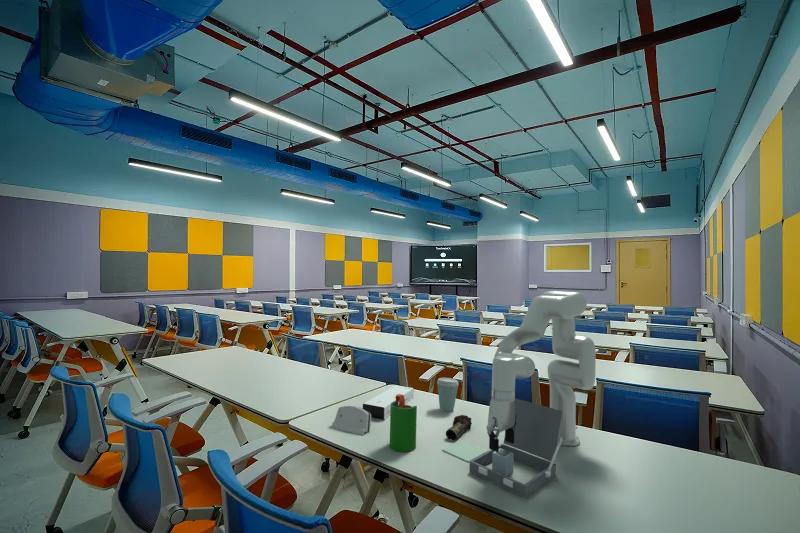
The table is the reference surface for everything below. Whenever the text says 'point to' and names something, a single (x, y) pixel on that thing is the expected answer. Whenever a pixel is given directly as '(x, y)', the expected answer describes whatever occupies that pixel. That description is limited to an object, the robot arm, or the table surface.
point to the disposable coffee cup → (447, 393)
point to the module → (502, 462)
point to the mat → (464, 451)
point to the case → (512, 484)
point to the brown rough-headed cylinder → (458, 427)
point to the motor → (402, 425)
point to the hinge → (352, 420)
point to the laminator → (387, 401)
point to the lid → (536, 429)
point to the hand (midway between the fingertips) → (501, 446)
